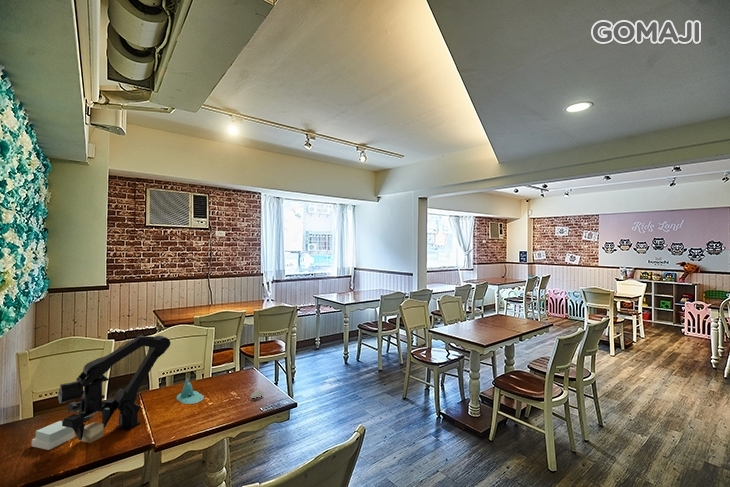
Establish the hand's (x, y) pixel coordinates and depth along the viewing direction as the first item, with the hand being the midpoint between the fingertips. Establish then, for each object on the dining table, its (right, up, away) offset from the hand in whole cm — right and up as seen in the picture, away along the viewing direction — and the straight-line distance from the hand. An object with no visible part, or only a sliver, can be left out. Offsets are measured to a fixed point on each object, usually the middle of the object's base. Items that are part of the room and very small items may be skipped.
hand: (92, 433), depth 135 cm
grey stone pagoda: (-16, -2, +16) cm, 22 cm away
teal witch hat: (+20, -3, +38) cm, 43 cm away
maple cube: (0, -2, 0) cm, 2 cm away
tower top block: (-13, +1, -3) cm, 13 cm away
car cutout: (+50, -4, +36) cm, 62 cm away
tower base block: (-13, -2, -3) cm, 14 cm away
